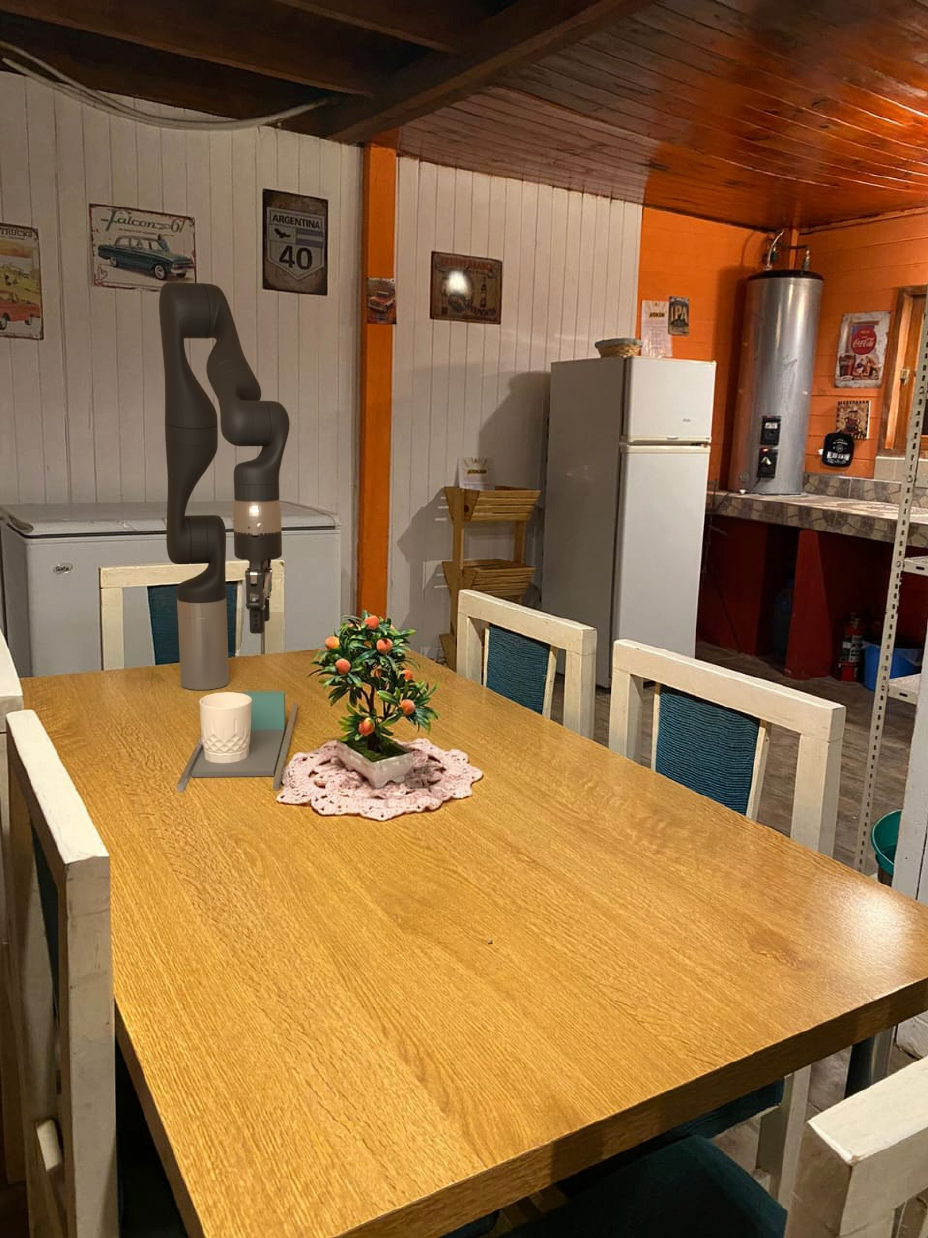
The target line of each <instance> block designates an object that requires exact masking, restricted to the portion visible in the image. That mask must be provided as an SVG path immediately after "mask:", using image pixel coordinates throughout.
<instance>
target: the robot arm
mask: <svg viewBox="0 0 928 1238" xmlns="http://www.w3.org/2000/svg"><path fill="white" fill-rule="evenodd" d="M158 299H159V300H158V310H159V311H158V313H159V325H160V326H159V327H160V337H161V347H162V356H163V359H162V360H163V368H164V435H165V436H164V437H165V438H164V439H165V452H166V455H165V456H166V470H167V472H166V473H167V502H166V504H167V507H166V528H165V529H166V530H165V531H166V534H165V535H166V539H165V540H166V551H167V555H168V559H169V560H170V561H171V563H173V564H175V565H203V564H204V565H205V564H207V566H206V568H205V569H204V570H203V571H202V572H201V573H199V574H198V575H196V576H193V577H191V578H189V579H186V580H183V581H182V582H180V583H179V584H177V586H176V604H177V607H176V608H177V623H178V625H177V626H178V647H179V648H178V651H179V671H180V673H179V675H180V686H181V687H183V688H184V689H189V690H196V691H203V690H204V691H206V690H215V689H219V688H220V689H221V688H223V687H225V686H227V685H228V684H229V683H230V676H229V675H230V671H229V670H230V669H229V640H228V638H229V637H228V636H229V635H228V611H227V610H228V608H227V582H226V581H227V579H226V578H227V577H226V574H227V573H226V565H227V564H226V558H227V557H226V555H227V531H226V524H225V522H224V519H223V518H222V517H221V516H220V515H215V514H213V515H210V514H207V515H206V514H205V515H204V514H202V515H186V510H187V507H188V503H189V500H190V497H191V496H192V494H193V491H194V489H195V487H196V485H197V484H198V483H199V481H200V479H201V478H202V477H203V475H204V474H205V472H206V471H207V469H208V468H209V467H210V465H211V464H212V462H213V460H214V458H215V456H216V455H217V451H218V447H219V445H218V444H219V441H218V440H219V439H218V438H219V437H218V436H219V431H218V429H219V428H218V427H219V425H218V423H219V422H218V421H219V420H218V413H217V410H216V407H215V406H214V403H213V402H212V399H210V396H208V395H209V394H207V391H205V389H204V387H203V386H202V385H201V384H200V382H199V380H198V379H197V377H196V375H195V373H194V372H193V370H192V368H191V365H190V363H189V361H188V357H187V353H186V350H185V339H212V338H213V339H214V340H216V341H215V343H214V345H213V347H212V349H211V351H210V353H209V355H208V357H207V360H206V361H207V362H206V376H207V380H208V382H209V384H210V387H211V389H212V391H213V393H214V394H215V396H216V398H217V400H218V401H217V402H218V407H219V413H220V415H219V416H220V417H219V418H220V432H221V434H222V436H223V438H224V439H225V440H226V441H227V442H228V443H230V444H231V445H233V446H236V447H261V449H260V453H258V456H257V457H256V458H254V459H251V460H247V461H243V462H239V463H238V464H236V465H235V466H234V469H233V490H234V491H233V492H234V494H233V495H234V504H233V505H234V506H233V514H232V518H233V519H232V520H233V521H232V522H233V523H232V524H233V551H234V552H233V554H234V557H235V558H236V559H238V560H242V561H245V560H246V561H248V562H249V563H248V564H249V565H248V567H247V568H246V570H245V571H244V578H245V601H246V602H245V607H246V609H247V611H248V614H249V616H248V617H249V632H250V634H253V635H254V634H258V635H259V634H263V633H264V632H265V622H268V621H270V617H271V616H270V613H271V612H270V610H271V609H270V599H271V596H272V593H271V592H272V591H273V568H272V566H271V563H272V560H276V559H280V558H281V557H282V556H283V545H282V544H283V543H282V542H283V540H282V539H283V538H282V536H283V535H282V534H283V533H282V511H281V503H280V470H281V466H282V460H283V455H284V453H285V452H284V451H285V447H286V444H287V441H288V437H289V433H290V426H291V425H290V423H291V422H290V416H289V414H288V411H287V409H286V408H285V407H284V405H283V404H282V403H280V402H278V401H276V400H261V399H262V389H261V386H260V383H259V381H258V379H257V377H256V375H255V373H254V372H253V369H252V368H251V365H250V364H249V363H248V361H247V358H246V356H245V355H244V351H243V347H242V345H241V342H240V337H239V335H238V334H239V333H238V331H237V326H236V323H235V321H234V318H233V317H234V316H233V313H232V311H231V307H230V304H229V303H228V299H227V297H226V294H225V293H224V291H223V290H222V289H221V288H220V286H218V285H215V284H214V283H204V282H184V281H183V282H182V281H179V282H178V281H177V282H176V281H174V282H173V281H168V282H165V283H164V284H163V285H162V286H161V288H160V292H159V298H158ZM253 599H255V600H253Z"/></svg>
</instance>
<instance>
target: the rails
mask: <svg viewBox="0 0 928 1238" xmlns="http://www.w3.org/2000/svg"><path fill="white" fill-rule="evenodd" d="M298 705H299V704H298V701H297V702H292V706H291V709H290V713H289V717H288V722H287V724H286V730H285V734H284V738H283V742H282V746H281V750H280V754H279V758H278V762H277V766H276V770H275V774H274V776H273V782H272V786H273V787H272V791H279V790H280V787H281V783H282V779H281V778H283V774H282V772H283V773H284V770H285V765H286V761H287V757H288V752H289V748H290V743H291V739H292V736H293V730H294V727H295V722H296V718H297V713H298ZM203 748H204V747H203V743H202V734H201V735H200V737H199V739H198V741H197V744H195V747H194V749H193V751H192V753H191V754H190V757H189V759H188V761H187V764H186V765H185V767H184V770H183V771H182V773H181V776H180V778H179V779H178V781H177V784H176V786H177V788H176V789H177V793H183V792H185V790H186V786H187V784H188V782H189V781H190V778H191V777H192V772H193V770H194V767H195V765H196V763H197V761H198V759H199V757H200V755H201V753H202V750H203ZM283 769H284V770H283Z"/></svg>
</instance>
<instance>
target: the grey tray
mask: <svg viewBox="0 0 928 1238" xmlns="http://www.w3.org/2000/svg"><path fill="white" fill-rule="evenodd" d="M242 694H245V695H248V696H250V697H251V698H252V708H251V731H250V743H249V755H248V756H247V758H245V759H243V760H240V761H236V762H231V763H215V762H210V761H208V760H206V759H205V757H204V748H203V750H202V753H201V755H200V757H199V759H198V761H197V763H196V765H195V767H194V770H193V772H192V774H191V777H192V778H215V777H216V778H223V777H225V778H226V777H227V778H228V777H229V778H231V777H233V778H234V777H275V773H276V769H277V765H278V761H279V757H280V753H281V749H282V745H283V741H284V737H285V733H286V729H287V722H286V720H287V719H286V717H287V716H286V690H250V691H249V690H247V691H246V690H245V691H242Z"/></svg>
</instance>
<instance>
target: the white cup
mask: <svg viewBox="0 0 928 1238" xmlns="http://www.w3.org/2000/svg"><path fill="white" fill-rule="evenodd" d="M242 693H243V692H242ZM242 693H241V692H240V693H239V692H232V691H229V692H227V691H226V692H215V693H211V694H210V693H209V694H207V695H204V696H202V697H201V698H200V699H199V701H198V702H199V703H198V704H199V714H200V716H199V717H200V719H199V720H200V730H201V735H202V743H203V747H204V757H205V759H206V760H208V761H210V762H215V763H231V762H236V761H240V760H243V759H245V758H247V756H248V755H249V743H250V731H251V708H252V698H251V697H250V696H248V695H245V694H242Z"/></svg>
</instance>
